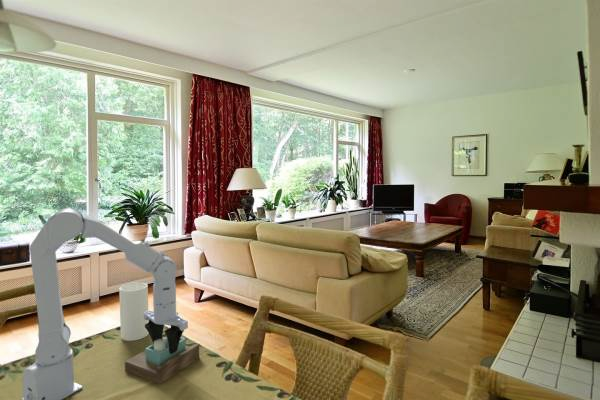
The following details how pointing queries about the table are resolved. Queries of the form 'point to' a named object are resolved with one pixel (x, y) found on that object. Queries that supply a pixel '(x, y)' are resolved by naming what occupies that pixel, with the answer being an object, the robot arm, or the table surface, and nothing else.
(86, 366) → the table surface
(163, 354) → the light blue open box
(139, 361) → the brown flat block
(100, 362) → the table surface
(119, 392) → the table surface
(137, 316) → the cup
